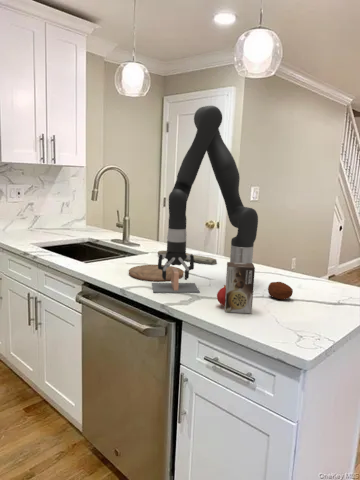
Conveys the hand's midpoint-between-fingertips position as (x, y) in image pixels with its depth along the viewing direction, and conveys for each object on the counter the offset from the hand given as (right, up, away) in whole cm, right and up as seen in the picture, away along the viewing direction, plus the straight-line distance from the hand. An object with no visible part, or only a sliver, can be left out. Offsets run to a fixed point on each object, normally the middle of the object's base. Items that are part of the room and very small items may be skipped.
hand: (175, 279), depth 154 cm
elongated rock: (+5, +5, +54) cm, 55 cm away
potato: (+40, -7, -7) cm, 41 cm away
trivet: (-9, 0, +21) cm, 23 cm away
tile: (0, -3, 0) cm, 3 cm away
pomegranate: (+18, -8, -19) cm, 27 cm away
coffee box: (+22, -8, -22) cm, 32 cm away
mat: (0, -4, 0) cm, 4 cm away
